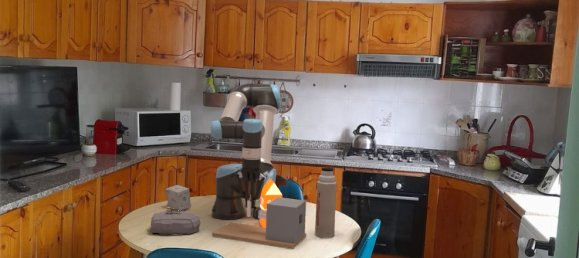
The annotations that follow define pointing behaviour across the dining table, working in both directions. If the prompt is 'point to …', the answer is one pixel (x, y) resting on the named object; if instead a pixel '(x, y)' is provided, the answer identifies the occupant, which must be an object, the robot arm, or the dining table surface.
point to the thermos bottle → (325, 204)
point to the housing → (272, 225)
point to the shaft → (259, 213)
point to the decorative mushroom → (280, 181)
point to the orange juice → (268, 197)
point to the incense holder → (178, 197)
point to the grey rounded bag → (175, 222)
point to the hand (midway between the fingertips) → (250, 215)
